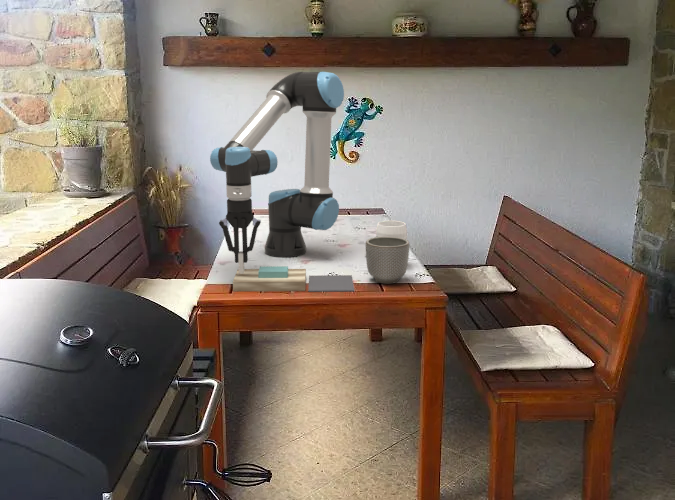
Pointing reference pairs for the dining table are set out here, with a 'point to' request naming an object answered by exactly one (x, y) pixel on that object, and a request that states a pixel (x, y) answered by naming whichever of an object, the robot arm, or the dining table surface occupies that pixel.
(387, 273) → the planter
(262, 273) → the teal foam pad
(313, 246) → the dining table surface
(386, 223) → the white vase
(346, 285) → the mat
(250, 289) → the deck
